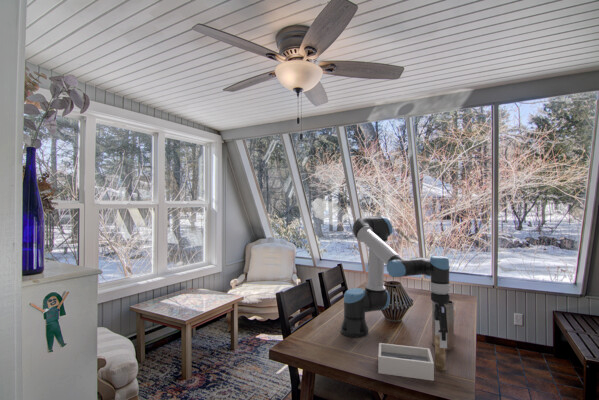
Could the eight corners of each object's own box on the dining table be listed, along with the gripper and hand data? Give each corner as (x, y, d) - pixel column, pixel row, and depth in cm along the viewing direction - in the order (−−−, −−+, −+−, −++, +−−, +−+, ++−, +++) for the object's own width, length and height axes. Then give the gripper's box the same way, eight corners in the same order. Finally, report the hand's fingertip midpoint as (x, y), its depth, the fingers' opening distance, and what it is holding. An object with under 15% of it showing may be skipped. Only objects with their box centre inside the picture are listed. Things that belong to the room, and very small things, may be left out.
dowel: (435, 370, 139) (435, 337, 139) (434, 365, 143) (434, 334, 143) (445, 371, 138) (445, 339, 138) (444, 367, 142) (444, 335, 142)
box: (378, 373, 137) (378, 356, 137) (379, 357, 150) (379, 342, 150) (433, 380, 131) (433, 363, 131) (429, 364, 144) (429, 348, 144)
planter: (432, 348, 160) (432, 302, 160) (432, 340, 170) (431, 297, 170) (454, 351, 157) (454, 304, 157) (452, 343, 166) (452, 299, 166)
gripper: (455, 300, 128) (456, 354, 127) (444, 285, 152) (445, 331, 151) (435, 299, 130) (435, 352, 129) (427, 284, 154) (428, 329, 153)
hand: (440, 341), depth 140 cm, fingers open, 13 cm apart
